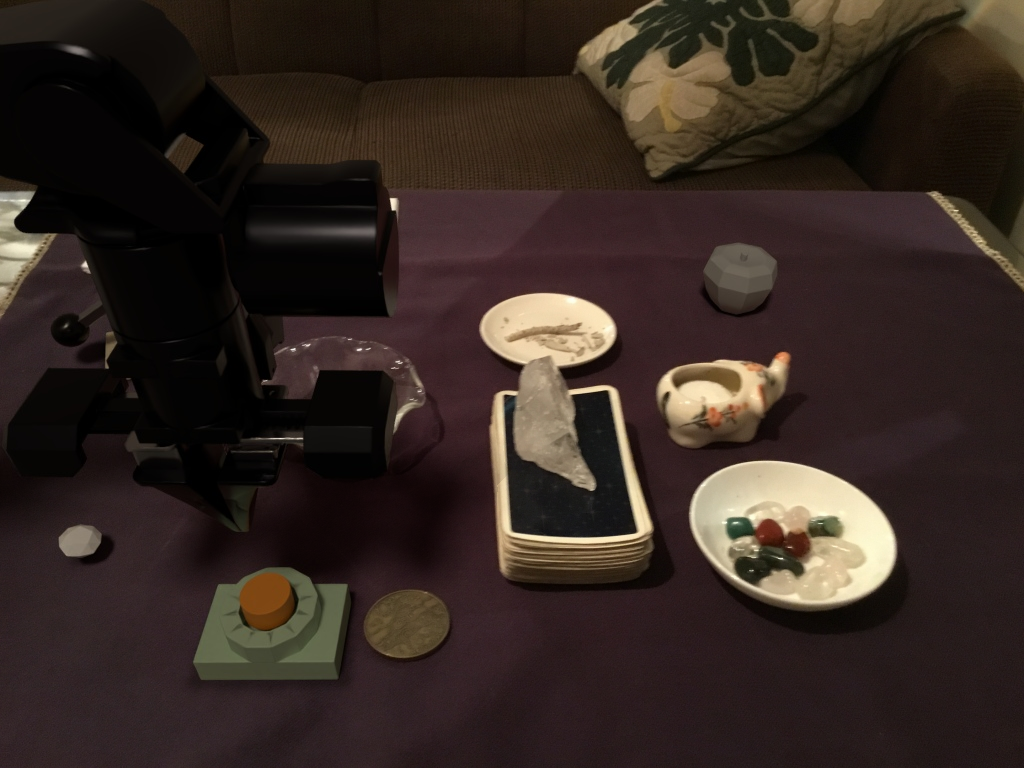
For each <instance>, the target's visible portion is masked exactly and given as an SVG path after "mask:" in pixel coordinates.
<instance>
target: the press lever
mask: <svg viewBox="0 0 1024 768" xmlns="http://www.w3.org/2000/svg"><path fill="white" fill-rule="evenodd" d="M105 315H106V312H105V310H104V307H103V304H102V302H101V299H99V300H98V301H96V302H94V303H93V304H92V305H90V306H89V307H88V308H86V309H84V310H83V311H82V312H80V313H79V314H78V313H75V312H65V313H61V314H59V315H57V316H56V317H55V318H54V319H53V320H52V322H51V324H50V335H51V337H52V339H53V340H54V342H56V343H57V344H58V345H60V346H63V347H66V348H75V347H79V346H81V345H83V344H84V343H86V341H87V340H88V339H89V337H90V332H91V328H90V326H92V325H93V324H95V322H97V321H98V320H100V319H102V318H103V317H104V316H105Z"/></svg>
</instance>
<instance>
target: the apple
mask: <svg viewBox="0 0 1024 768" xmlns="http://www.w3.org/2000/svg"><path fill="white" fill-rule="evenodd" d="M702 275H703V280H704V286H705V290H706V292H707V294H708V296H709V298H710V300H711V301H712V302H713V303H714V304H715V305H716V306H717V307H718V308H719V310H720V311H722V312H724V313H729V314H731V315H740V314H743V313H745V314H746V313H749V312H753V311H754V310H757V308H758V307H759V306H760V305H762V304H763V303H764V302H765V300H766V299H767V297H768V296H769V294H770V293H771V291H772V290H773V288H774V285H775V282H776V280H777V278H778V261H777V260H776V259H775V258H774V257H773V256H772V255H770V253H768V252H767V251H766V250H765V249H764V248H762V247H761V246H757V245H751V244H747V243H743V242H733V243H728V244H722V245H717V246H716V247H715V248H714V250H713V251H712V253H711V255H710V257H709V259H708V261H707V262H706V265H705V266H704V269H703V270H702Z"/></svg>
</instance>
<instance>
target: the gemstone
mask: <svg viewBox="0 0 1024 768" xmlns="http://www.w3.org/2000/svg"><path fill="white" fill-rule="evenodd" d="M101 543H102V532H100V531H99V530H98V528H96V527H95V526H94V525H90V524H89V525H88V524H81V523H80V524H77V525H74V526H71V527H67V528H66V529H65V530H64V532H62V533H61V534H60V536H59V537H58V547H59V549H60V550H61V551H62V552H63V554H64V555H65V556H66V557H71V558H78V559H83V558H86V557H88V556H91V555H93V554H94V553H95V552H96V551H97V549H98V548H99V546H100V544H101Z"/></svg>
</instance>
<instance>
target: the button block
mask: <svg viewBox="0 0 1024 768" xmlns="http://www.w3.org/2000/svg"><path fill="white" fill-rule="evenodd" d="M263 573H277V574H280V575H282V576H284V577H285V578H286V579H287V580H288V582H289V584H290V587H291V590H292V594H293V598H294V602H295V607H294V611H293V613H292V615H291V616H290V618H289V619H288V620H287V621H286V622H285V623H283V624H282V625H280V626H278V627H276V628H273V629H269V630H260V629H256V628H254V627H252V626H250V625H249V624H248V622H247V621H246V619H245V616H244V613H243V610H242V608H241V605H240V601H239V596H240V592H241V590H242V588H243V586H244V585H245V584H246V583H247V582H248V581H249V580H250V579H252V578H253V577H255V576H257V575H260V574H263ZM351 605H352V597H351V594H350V588H349V584H348V583H313V582H312V580H311V577H309V576H308V575H306V574H304V573H302V572H300V571H298V570H296V569H294V568H293V567H289V566H288V567H287V566H286V567H285V566H284V567H280V566H279V567H274V566H273V567H271V566H270V567H264V568H262V569H259V570H257V571H255V572H253V573H249V574H247V575H246V576H244V577H242V578H241V579H240V580H239V581H238V582H237V583H220V584H217V588H216V590H215V594H214V597H213V599H212V603H211V606H210V608H209V612H208V615H207V618H206V621H205V624H204V627H203V631H202V633H201V636H200V640H199V643H198V646H197V648H196V651H195V655H194V658H193V661H192V663H193V665H194V668H195V670H196V673H197V675H198V677H199V679H200V680H201V681H257V680H258V681H288V680H289V681H290V680H291V681H295V680H296V681H301V680H303V681H305V680H309V681H310V680H311V681H312V680H313V681H314V680H315V681H316V680H319V681H320V680H321V681H323V680H330V681H331V680H332V681H333V680H335V681H336V680H339V678H340V673H341V666H342V661H343V654H344V648H345V642H346V637H347V631H348V625H349V618H350V612H351V607H352V606H351Z"/></svg>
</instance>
